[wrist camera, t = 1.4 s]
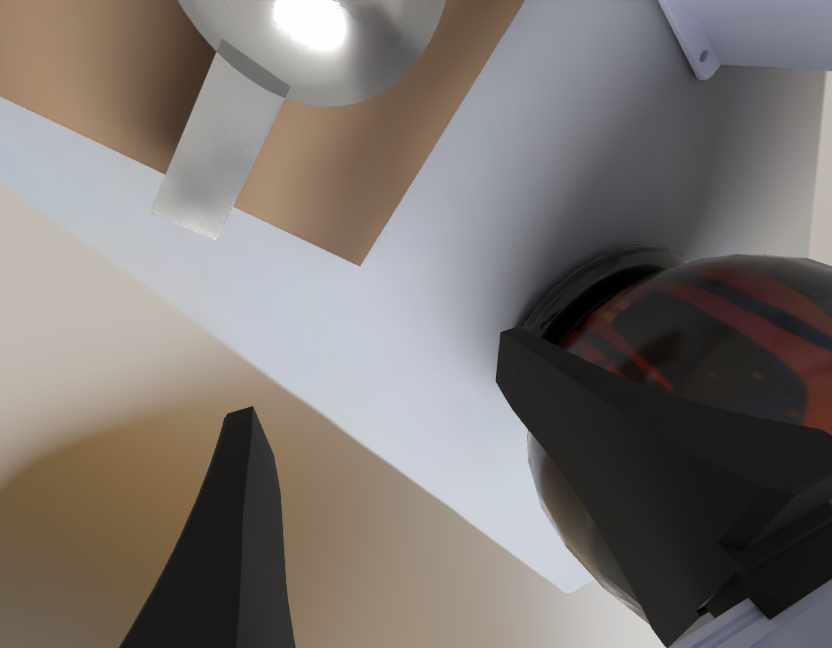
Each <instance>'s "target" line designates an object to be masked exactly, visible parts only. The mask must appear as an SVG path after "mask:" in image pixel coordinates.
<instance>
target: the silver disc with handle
mask: <svg viewBox="0 0 832 648" xmlns="http://www.w3.org/2000/svg"><path fill="white" fill-rule="evenodd" d="M178 2H179V4H180V5H181V7H182V9H183V10H184V12H185V13H186V14H187V16H188V17H189V19H190V20H191V21H192V23H193V24H194V26H195V27H196V28H197V30H198V31H199V32H200V34H201V35H202V36H203V37H204V38H205V39H206V40H207V42H208V43H209V44H210V45H211V46H212V47H213V48H214V50H215V51H216V54H215V56H214V59H213V61H212V64H211V66H210V69H209V71H208V73H207V76H206V78H205V81H204V83H203V85H202V88H201V90H200V93H199V95H198V98H197V100H196V102H195V105H194V107H193V110H192V112H191V114H190V117H189V119H188V122H187V124H186V127H185V129H184V131H183V134H182V136H181V139H180V141H179V144H178V146H177V148H176V151H175V153H174V156H173V158H172V160H171V163H170V165H169V168H168V170H167V173H166V175H165V177H164V180H163V182H162V185H161V187H160V189H159V192H158V194H157V197H156V199H155V202H154V204H153V207H152V209H151V212H150V213H151V214H154V215H156V216H159V217H161V218H163V219H166V220H168V221H171V222H173V223H175V224H178V225H180V226H183V227H185V228H188V229H190V230H192V231H195V232H197V233H200V234H202V235H204V236H207V237H209V238H212V239H214V240H217V239H218V237H219V235H220V233H221V230H222V228H223V226H224V224H225V222H226V220H227V218H228V216H229V214H230V212H231V210H232V208H233V206H234V203H235V201H236V199H237V197H238V195H239V193H240V191H241V189H242V187H243V185H244V183H245V181H246V179H247V176H248V174H249V172H250V170H251V168H252V166H253V164H254V162H255V160H256V158H257V156H258V154H259V152H260V149H261V147H262V145H263V143H264V141H265V139H266V137H267V135H268V133H269V131H270V129H271V127H272V125H273V122H274V120H275V118H276V116H277V114H278V112H279V110H280V108H281V106H282V104H283V102H284V100H285V99H288V100H292V101H295V102H299V103H302V104H308V105H315V106H343V105H350V104H355V103H358V102H361V101H364V100H367V99H370V98H372V97H374V96H376V95H378V94H380V93H382V92H383V91H385V90H386V89H388V88H389V87H391V86H392V85H394V84H395V83H396V82H397V81H399V80H400V79H401V78H402V77H403V76H404V75H405V74H406V73H407V72H408V71H409V70H410V69H411V68H412V66H413V65H414V64H415V63H416V62H417V60H418V59H419V58H420V56H421V55H422V53H423V52H424V50H425V48H426V47H427V45H428V44H429V42H430V40H431V38H432V36H433V34H434V32H435V30H436V28H437V25H438V23H439V20H440V17H441V15H442V12H443V9H444V6H445V2H446V0H178Z"/></svg>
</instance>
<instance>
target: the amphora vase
mask: <svg viewBox="0 0 832 648" xmlns="http://www.w3.org/2000/svg"><path fill="white" fill-rule="evenodd" d="M521 329H524V330H526V331H528V332H530V333H532V334H534V335H536V336H538V337H540V338H542V339H544V340H546V341H548V342H550V343H552V344H554V345H556V346H558V347H560V348H562V349H564V350H566V351H568V352H570V353H572V354H574V355H576V356H578V357H580V358H582V359H585V360H587V361H589V362H591V363H593V364H595V365H597V366H600V367H602V368H604V369H606V370H609V371H611V372H613V373H616V374H618V375H620V376H623V377H625V378H628V379H630V380H633V381H635V382H638V383H641V384H643V385H646V386H649V387H652V388H654V389H657V390H660V391H663V392H666V393H669V394H672V395H675V396H678V397H681V398H685V399H688V400H692V401H695V402H698V403H702V404H705V405H709V406H713V407H716V408H720V409H724V410H728V411H732V412H737V413H741V414H745V415H750V416H754V417H759V418H763V419H768V420H773V421H779V422H785V423H790V424H796V425H801V426H807V427H812V428H818V429H822V430H824V431H825V432H827V433H829V434H830V435H832V266H829V265H826V264H823V263H820V262H817V261H814V260H811V259H808V258H798V257H785V256H772V255H738V254H736V255H728V256H720V257H712V258H704V259H699V260H695V261H692V262H689V263H686V262H685V260H684V259H683V257H682V256H681V255H679V254H677V253H675V252H673V251H671V250H669V249H667V248H665V247H662V246H659V245H633V246H629V247H625V248H622V249H618V250H615V251H611V252H608V253H605V254H603V255H601V256H599V257H597V258H595V259H594V260H592V261H590V262H588V263H586V264H585V265H583V266H581V267H579V268H577V269H576V270H575V271H574V272H572V273H571V274H570V275H569V276H567V277H566V278H565V279H564V280H562V281H561V282H560V283H559V284H557V285H556V286H555V287H554V288H553V289H552V290H551V291H550V292H549V293H548V294H547V295H546V296H545V298H544V299H543V300H542V301H541V302H540V303H539V304H538V305H537V306H536V308H535V309H534V310H533V311H532V312H531V314H530V315H529V317H528V319H527V320H526V322H525V323H524V325H523V327H522V328H521ZM527 441H528V462H529V465H530V469H531V473H532V476H533V480H534V484H535V487H536V490H537V494H538V497H539V500H540V504H541V507H542V509H543V511H544V512H545V514H546V515H547V517H548V519H549V520H550V522H551V523H552V525H553V527H554V528H555V530H556V531H557V533H558V535H559V536H560V538H561V539H562V541H563V543H564V544H565V546H566V547H567V548H568V549H569V551H570V552H571V553H572V554H573V555H574V556H575V557H576V558H577V559H578V560H579V562H580V563H581V564H582V565H583V566H584V567H585V568H586V569H587V570H588V571H589V573H590V574H591V575H592V576H593V577H594V578H595V579H596V580H597V581H598V582H599V584H600V585H601V586H602V587H603V588H604V589H605V590H607V591H608V592H609V593H610V594H612V595H613V596H614V597H615V598H617V599H618V600H619V601H621V602H622V603H623V604H624V605H626V606H627V607H628V608H629V609H631V610H632V611H633V612H634V613H636V614H637V615H638V616H639V617H641V618H642V619H643V620H645V621H646V622H647V623H648V624H649V622H648V620H647V618H646V616H645V613H644V611H643V609H642V607H641V606H640V604H639V602H638V600H637V598H636V596H635V594H634V592H633V590H632V588H631V587H630V585H629V583H628V581H627V579H626V577H625V575H624V573H623V571H622V570H621V568H620V566H619V564H618V563H617V561H616V559H615V557H614V556H613V554H612V552H611V550H610V549H609V547H608V545H607V543H606V541H605V540H604V538H603V536H602V535H601V533H600V531H599V530H598V528H597V526H596V525H595V523H594V521H593V520H592V518H591V516H590V515H589V513H588V512H587V510H586V508H585V507H584V505H583V504H582V502H581V500H580V499H579V497H578V496H577V494H576V493H575V491H574V490H573V488H572V486H571V485H570V483H569V482H568V480H567V479H566V477H565V476H564V475H563V473H562V472H561V471H560V469H559V468H558V466H557V465H556V464H555V463H554V461H553V460H552V459H551V458H550V456H549V455H548V454H547V453H546V451H545V450H544V449H543V447H542V446H541V445H540V444H539V442H538V441H537V440H536V439H535V437H534V436H533V435H532V434H531V432H530V431H529V430H528V434H527ZM827 502H829V503H830V504H831V505H832V497H831V498H830V499H829V500H828V501H827Z"/></svg>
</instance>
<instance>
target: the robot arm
mask: <svg viewBox="0 0 832 648" xmlns="http://www.w3.org/2000/svg"><path fill="white" fill-rule="evenodd" d="M658 1H659V3H660V5H661V7H662V9H663V11H664V13H665V15H666V17H667V19H668V21H669V23H670V25H671V27H672V29H673V31H674V33H675V35H676V37H677V39H678V41H679V43H680V45H681V47H682V49H683V51H684V53H685V55H686V57H687V59H688V61H689V63H690V65H691V67H692V69H693V71H694V73H695V75H696V77H697V78H698V79H699V80H707V79H709V78H710V77H711V76H712V75H713V74H714V73H715V72H716V70H717V69H718V68H719V67H720V65H735V66H753V67H770V68H788V69H805V70H823V71H832V0H658ZM700 55H701V56H700ZM496 383H497V384H498V386H499V388H500V390H501V391H502V393H503V395H504V397H505V398H506V400H507V401H508V403H509V405H510V406H511V408H512V409H513V411H514V412H515V413H516V415H517V416H518V417H519V418H520V420H521V421H522V422H523V424H524V425H525V426H526V427H527V429H528V430H529V431H530V432H531V434H532V435H533V436H534V437H535V439H536V440H537V441H538V442H539V444H540V445H541V446H542V447H543V449H544V450H545V451H546V453H547V454H548V455H549V456H550V458H551V459H552V460H553V461H554V463H555V464H556V465H557V466H558V468H559V469H560V471H561V472H562V473H563V475H564V476H565V477H566V479H567V480H568V482H569V483H570V485H571V486H572V488H573V490H574V491H575V493H576V494H577V496H578V497H579V499H580V500H581V502H582V504H583V505H584V507H585V508H586V510H587V512H588V513H589V515H590V516H591V518H592V520H593V521H594V523H595V525H596V526H597V528H598V530H599V531H600V533H601V535H602V536H603V538H604V540H605V541H606V543H607V545H608V547H609V549H610V550H611V552H612V554H613V556H614V557H615V559H616V561H617V563H618V564H619V566H620V568H621V570H622V571H623V573H624V575H625V577H626V579H627V581H628V583H629V585H630V587H631V588H632V590H633V592H634V594H635V596H636V598H637V600H638V602H639V604H640V606H641V607H642V609H643V611H644V613H645V616H646V618H647V620H648V622H649V624H650V626H651V627H652V629H653V631H654V632H655V633H656V635H657V636H658V637H659V639H660V640H661V642H662V643H663V644H664V646H665V647H666V648H832V505H831V504H830V503H829V502H827V501H828V500H829V499H830V498H831V497H832V435H830V434H829V433H827V432H825V431H824V430H822V429H818V428H812V427H807V426H801V425H796V424H790V423H785V422H779V421H773V420H768V419H763V418H759V417H754V416H750V415H745V414H741V413H737V412H732V411H728V410H724V409H720V408H716V407H713V406H709V405H705V404H702V403H698V402H695V401H692V400H688V399H685V398H681V397H678V396H675V395H672V394H669V393H666V392H663V391H660V390H657V389H654V388H652V387H649V386H646V385H643V384H641V383H638V382H635V381H633V380H630V379H628V378H625V377H623V376H620V375H618V374H616V373H613V372H611V371H609V370H606V369H604V368H602V367H600V366H597V365H595V364H593V363H591V362H589V361H587V360H585V359H582V358H580V357H578V356H576V355H574V354H572V353H570V352H568V351H566V350H564V349H562V348H560V347H558V346H556V345H554V344H552V343H550V342H548V341H546V340H544V339H542V338H540V337H538V336H536V335H534V334H532V333H530V332H528V331H526V330H524V329H521V328H519V327H517V328H513V329H510V330H506V331H503V332H501V334H500V343H499V353H498V363H497V372H496ZM119 648H295V642H294V637H293V629H292V623H291V616H290V610H289V603H288V596H287V586H286V574H285V557H284V541H283V524H282V509H281V495H280V487H279V481H278V476H277V470H276V465H275V459H274V455H273V452H272V450H271V448H270V445H269V443H268V441H267V438H266V436H265V434H264V431H263V429H262V426H261V424H260V422H259V419H258V417H257V414H256V412H255V410H254V408H253V406H252V407H248V408H245V409H242V410H238V411H235V412H232V413H228V414H227V415H226V417H225V418H224V422H223V425H222V429H221V432H220V436H219V439H218V442H217V446H216V448H215V451H214V454H213V457H212V460H211V463H210V466H209V468H208V471H207V474H206V476H205V479H204V481H203V484H202V487H201V489H200V492H199V495H198V497H197V499H196V502H195V504H194V506H193V509H192V511H191V513H190V515H189V518H188V520H187V522H186V524H185V527H184V529H183V531H182V533H181V535H180V538H179V540H178V542H177V544H176V546H175V548H174V550H173V552H172V554H171V556H170V558H169V560H168V562H167V564H166V566H165V568H164V570H163V572H162V574H161V575H160V577H159V579H158V581H157V583H156V585H155V587H154V588H153V590H152V592H151V594H150V596H149V597H148V599H147V601H146V602H145V604H144V606H143V608H142V610H141V611H140V613H139V615H138V616H137V618H136V620H135V622H134V624H133V625H132V627H131V629H130V630H129V632H128V634H127V635H126V637H125V639H124V640H123V642H122V643H121V645H120V647H119Z"/></svg>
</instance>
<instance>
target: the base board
mask: <svg viewBox="0 0 832 648" xmlns="http://www.w3.org/2000/svg"><path fill="white" fill-rule="evenodd" d="M524 1H525V0H446V2H445V6H444V9H443V12H442V15H441V17H440V20H439V23H438V25H437V28H436V30H435V32H434V34H433V36H432V38H431V40H430V42H429V44H428V45H427V47H426V48H425V50H424V52H423V53H422V55H421V56H420V58H419V59H418V60H417V62H416V63H415V64H414V65H413V66H412V68H411V69H410V70H409V71H408V72H407V73H406V74H405V75H404V76H403V77H402V78H401V79H400V80H399V81H397V82H396V83H395V84H394V85H392V86H391V87H389V88H388V89H386V90H385V91H383V92H382V93H380V94H378V95H376V96H374V97H372V98H370V99H367V100H364V101H361V102H358V103H355V104H350V105H343V106H315V105H308V104H302V103H299V102H295V101H292V100H288V99H285V100H284V102H283V104H282V106H281V108H280V110H279V112H278V114H277V116H276V118H275V120H274V122H273V125H272V127H271V129H270V131H269V133H268V135H267V137H266V139H265V141H264V143H263V145H262V147H261V149H260V152H259V154H258V156H257V158H256V160H255V162H254V164H253V166H252V168H251V170H250V172H249V174H248V176H247V179H246V181H245V183H244V185H243V187H242V189H241V191H240V193H239V195H238V197H237V199H236V201H235V203H234V206H233V207H235V208H238V209H240V210H242V211H244V212H246V213H248V214H250V215H252V216H254V217H257V218H259V219H261V220H263V221H265V222H267V223H269V224H271V225H273V226H276V227H278V228H280V229H282V230H284V231H286V232H288V233H290V234H293V235H295V236H297V237H299V238H301V239H303V240H305V241H307V242H309V243H312V244H314V245H316V246H318V247H320V248H322V249H324V250H326V251H329V252H331V253H333V254H335V255H337V256H339V257H341V258H343V259H345V260H348V261H350V262H352V263H354V264H356V265H358V266H361V264H362V262H363V261H364V259H365V257H366V256H367V254H368V253H369V251H370V249H371V248H372V246H373V245H374V243H375V241H376V240H377V238H378V236H379V235H380V233H381V232H382V230H383V228H384V227H385V225H386V224H387V222H388V220H389V219H390V217H391V215H392V214H393V212H394V211H395V209H396V207H397V206H398V204H399V203H400V201H401V199H402V198H403V196H404V194H405V193H406V191H407V190H408V188H409V186H410V185H411V183H412V182H413V180H414V178H415V177H416V175H417V174H418V172H419V170H420V169H421V167H422V165H423V164H424V162H425V161H426V159H427V157H428V156H429V154H430V153H431V151H432V149H433V148H434V146H435V144H436V143H437V141H438V140H439V138H440V136H441V135H442V133H443V132H444V130H445V128H446V127H447V125H448V123H449V122H450V120H451V119H452V117H453V115H454V114H455V112H456V111H457V109H458V107H459V106H460V104H461V102H462V101H463V99H464V98H465V96H466V94H467V93H468V91H469V90H470V88H471V86H472V85H473V83H474V81H475V80H476V78H477V77H478V75H479V73H480V72H481V70H482V69H483V67H484V65H485V64H486V62H487V61H488V59H489V57H490V56H491V54H492V52H493V51H494V49H495V48H496V46H497V44H498V43H499V41H500V40H501V38H502V36H503V35H504V33H505V31H506V30H507V28H508V27H509V25H510V23H511V22H512V20H513V19H514V17H515V15H516V14H517V12H518V10H519V9H520V7H521V6H522V4H523V2H524ZM215 54H216V51H215V50H214V48H213V47H212V46H211V45H210V44H209V43H208V42H207V40H206V39H205V38H204V37H203V36H202V35H201V34H200V32H199V31H198V30H197V28H196V27H195V26H194V24H193V23H192V21H191V20H190V19H189V17H188V16H187V14H186V13H185V12H184V10H183V9H182V7H181V5H180V4H179V2H178V0H0V96H1V97H3V98H5V99H7V100H9V101H11V102H13V103H15V104H18V105H20V106H22V107H24V108H26V109H28V110H30V111H32V112H34V113H37V114H39V115H41V116H43V117H45V118H47V119H49V120H51V121H53V122H56V123H58V124H60V125H62V126H64V127H66V128H68V129H70V130H73V131H75V132H77V133H79V134H81V135H83V136H85V137H87V138H89V139H92V140H94V141H96V142H98V143H100V144H102V145H104V146H106V147H108V148H111V149H113V150H115V151H117V152H119V153H121V154H123V155H125V156H128V157H130V158H132V159H134V160H136V161H138V162H140V163H142V164H144V165H147V166H149V167H151V168H153V169H155V170H157V171H159V172H161V173H163V174H166V173H167V170H168V168H169V165H170V163H171V160H172V158H173V156H174V153H175V151H176V148H177V146H178V144H179V141H180V139H181V136H182V134H183V131H184V129H185V127H186V124H187V122H188V119H189V117H190V114H191V112H192V110H193V107H194V105H195V102H196V100H197V98H198V95H199V93H200V90H201V88H202V85H203V83H204V81H205V78H206V76H207V73H208V71H209V69H210V66H211V64H212V61H213V59H214V56H215Z"/></svg>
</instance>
